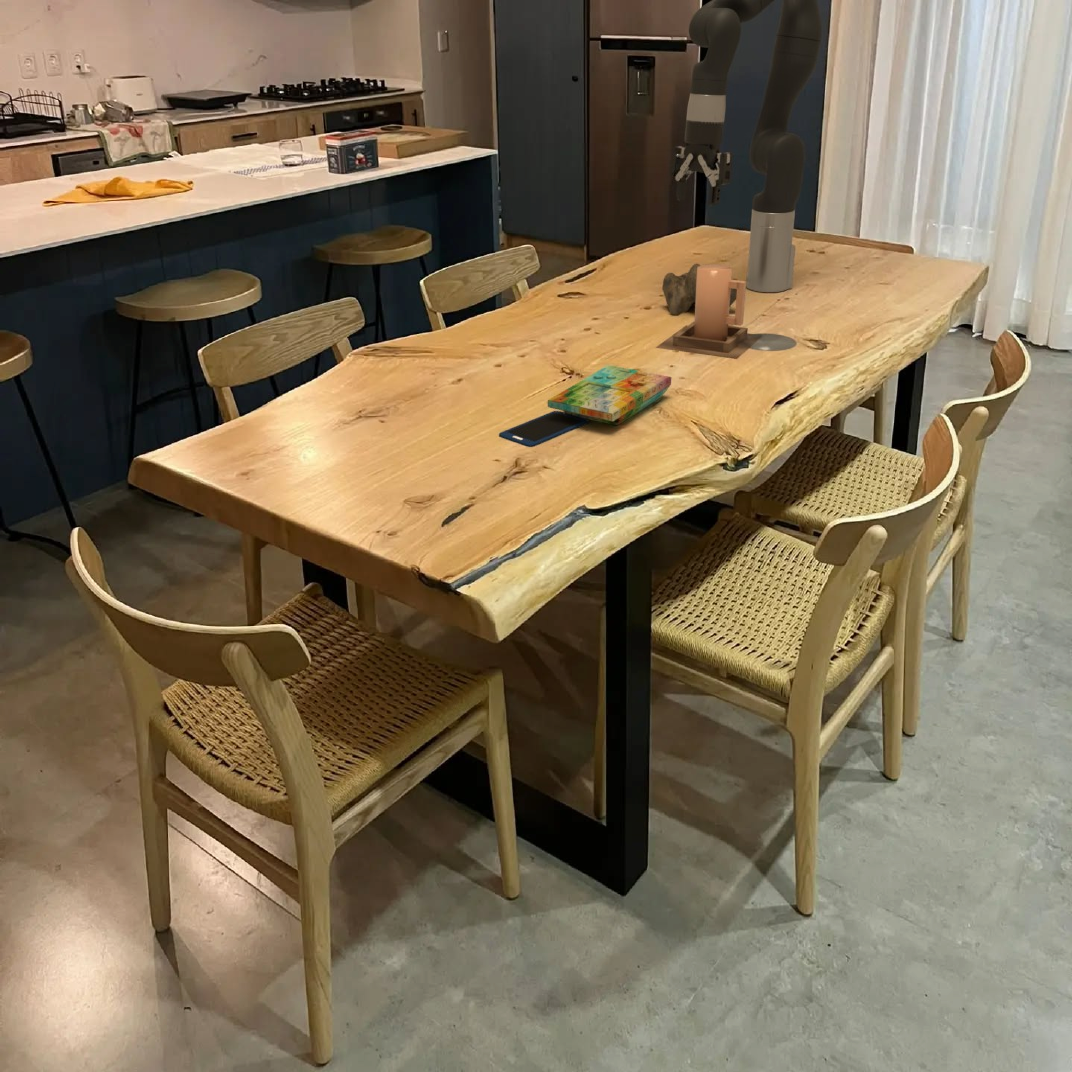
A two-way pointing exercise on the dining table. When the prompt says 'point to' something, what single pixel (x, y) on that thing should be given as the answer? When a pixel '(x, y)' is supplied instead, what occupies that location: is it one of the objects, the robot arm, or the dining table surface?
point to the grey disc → (770, 342)
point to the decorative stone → (684, 291)
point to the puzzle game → (611, 394)
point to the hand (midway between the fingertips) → (696, 202)
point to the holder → (709, 342)
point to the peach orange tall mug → (716, 302)
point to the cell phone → (543, 428)
